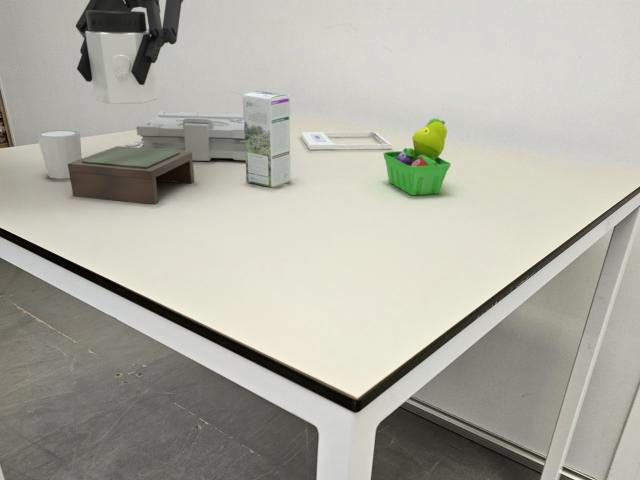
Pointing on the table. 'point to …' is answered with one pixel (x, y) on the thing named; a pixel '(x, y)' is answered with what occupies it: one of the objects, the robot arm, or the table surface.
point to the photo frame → (323, 142)
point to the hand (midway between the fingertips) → (110, 76)
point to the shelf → (129, 173)
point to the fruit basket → (420, 161)
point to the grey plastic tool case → (195, 134)
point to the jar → (117, 56)
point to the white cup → (59, 151)
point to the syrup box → (267, 138)
